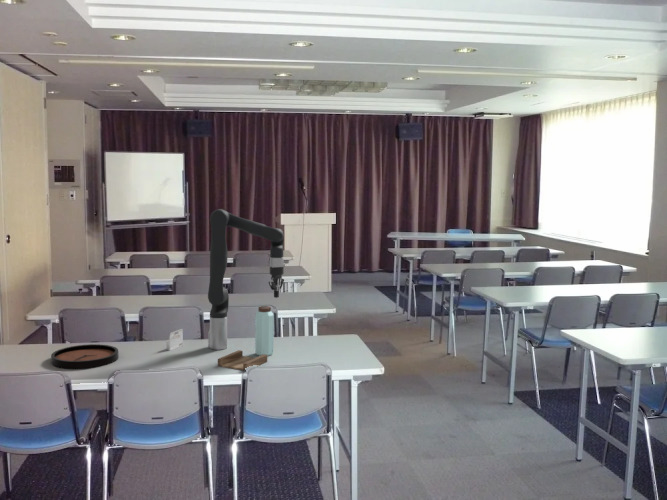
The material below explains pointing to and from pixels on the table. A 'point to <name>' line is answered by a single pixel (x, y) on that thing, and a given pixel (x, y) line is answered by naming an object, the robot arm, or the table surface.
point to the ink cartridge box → (175, 340)
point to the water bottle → (264, 331)
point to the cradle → (240, 360)
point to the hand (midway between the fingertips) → (276, 297)
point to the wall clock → (84, 356)
